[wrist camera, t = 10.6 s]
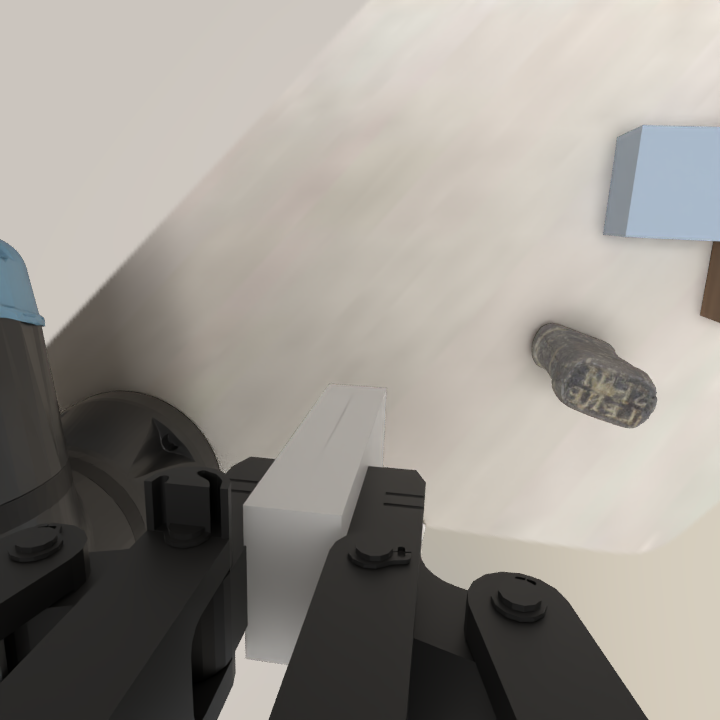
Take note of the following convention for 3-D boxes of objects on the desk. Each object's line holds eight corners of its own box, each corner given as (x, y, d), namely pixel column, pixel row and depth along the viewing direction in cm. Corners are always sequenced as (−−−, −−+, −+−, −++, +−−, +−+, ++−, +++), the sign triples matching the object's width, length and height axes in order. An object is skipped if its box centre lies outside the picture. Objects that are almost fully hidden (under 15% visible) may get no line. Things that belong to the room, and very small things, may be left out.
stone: (541, 314, 39) (569, 341, 30) (619, 346, 39) (674, 383, 29) (520, 359, 40) (540, 400, 31) (596, 390, 40) (641, 441, 30)
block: (602, 234, 38) (625, 236, 33) (616, 137, 36) (642, 125, 31) (699, 239, 37) (737, 242, 32) (717, 140, 35) (760, 127, 31)
